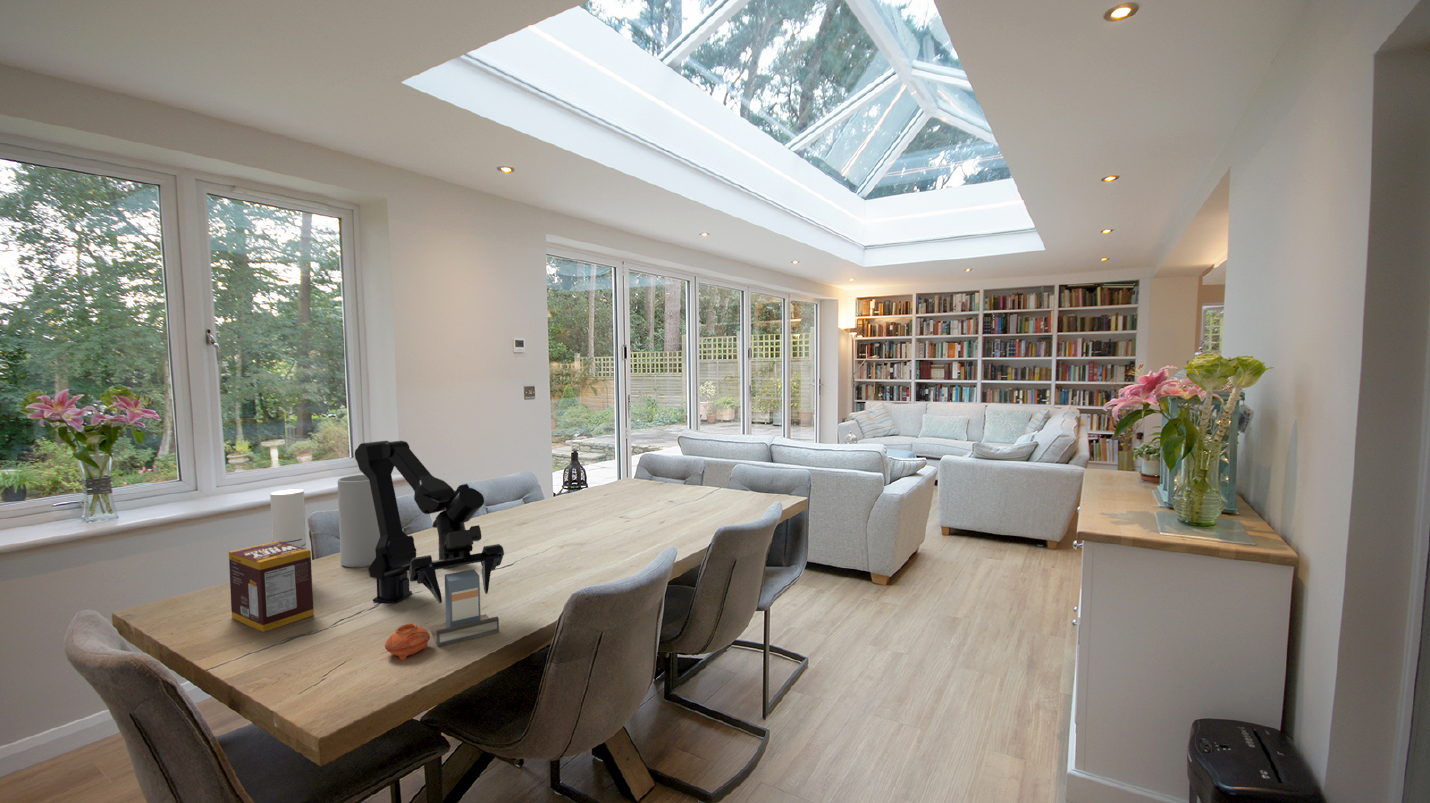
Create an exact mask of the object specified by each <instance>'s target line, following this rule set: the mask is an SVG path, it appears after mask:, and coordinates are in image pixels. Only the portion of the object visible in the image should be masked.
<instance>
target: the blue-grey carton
mask: <svg viewBox="0 0 1430 803" xmlns="http://www.w3.org/2000/svg"><path fill="white" fill-rule="evenodd" d="M480 581H481V580H480V575H479V573H478V572H477V571H476V570H475V568H474V569H466V570H462V571H457V572H451V573H445V574H444V601H445V602H444V603H445V623H446V628H449V627H453V626H458V625H462V624H466V623H471V622H475V621H479V620H481V617H480V615H481V585H480V583H481V582H480Z"/></svg>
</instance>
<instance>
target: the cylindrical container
mask: <svg viewBox="0 0 1430 803" xmlns="http://www.w3.org/2000/svg"><path fill="white" fill-rule="evenodd" d="M305 503H306V502H305V490H304V489H303V488H302V489H301V488H300V489H299V488H297V489H296V488H295V489H293V488H291V489H283V490H276V491H272V492H270V517H271V536H272V537H271V538H272V539H271V540H272V541H271V542H275V541H281V542H284V543H287V544H291V545H294V546H298V547H301V548H305V549H307V534H306V531H307V529H306V508H305V505H306V504H305Z"/></svg>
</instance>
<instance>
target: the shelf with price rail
mask: <svg viewBox="0 0 1430 803" xmlns="http://www.w3.org/2000/svg"><path fill="white" fill-rule="evenodd" d="M480 617H481V620H479V621H475V622H471V623H466V624H462V625H458V626H453V627H449V628H446V622H444V623H440V624H435V625H431V626H428V629H429V632H430V633H431V634H430V635H432V638H433V640H434V643H435V644H436V646H437V648H439V647H443V646H446V645H450V644H456V643H459V642H463V641H467V640H472V639H476V638H481V637H484V636H488V635H492V634H496V633H499V632H500V623H499V620H500V619H499V616H494V617H493V616H492V617H489V616H488V615H487V614H486V613H483V614H480Z"/></svg>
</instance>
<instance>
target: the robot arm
mask: <svg viewBox="0 0 1430 803" xmlns="http://www.w3.org/2000/svg"><path fill="white" fill-rule="evenodd" d="M354 458H355V461H356V463H357V466H358V469H359V471H360V472H361V473H362V475H365V476H366V477H367V478H368V479H369V482H370V487H371V492H372V497H373V502H374V507H375V512H376V517H377V522H378V527H379V532H380V538H379V541H378V543H377V546H376V548H375V552H376V558H375V560H374V561H373V562H372V564H371V565H370V566H368V573H369V577H370V578H374V579H375V580H376V597H374V598H373V599H372V602H373V603H375V602H377V603H378V602H379V603H380V602H381V603H398V602H400V601H402V600H404V599H405V598H407V597H409V596H410V595H412V594H413V591H412V590H410V582H417V584H419V585H420V584H422V585H423V586H424V587H425V588H427V589H428V591H429V592H430V593H431V594H432V595H433V598H435V600H436V601H437V602H438V603H439V604H442V602H443V599H442V593H441V589H440V586H439V582H438V579H437V575H436V574H437V573H436V571H437V570H442V569H447V568H448V569H449V567H450V568H455V567H459V566H465V565H469V564H470V565H471V564H475V563H476V564H477V563H481V564H480V565H481V572H480V573H481V578H482V585H483V590H484V594H485V595H487V594H489V586H490V580H491V572H492V571H495V570H496V568H497V567H499V566H500V565H501V564H502V561H503V558H504V556H505V551H504V547H503V545H501V544H500V543H496V544H491V545H484V546H483V548H482V550H481V552H478V553H471V552H473V545H474V542H479V541H481V539H482V531H481V527H480V525H479V524H478V525H472V526H469V529H466V526H465V523H467V522H469V521H470V520H471V519H472V518H473V517H474V516H475V515H476V513H477V512H478V511H479V510H480V509H481V508H482V507H483V506H484V504H485V498H484V495H483V493H482V492H480V491H479V490H477V489H475V488H473V487H470V486H469V485H468V484H467V483H465V484H460V485H459V486H457V488H456V489H455V490H454V489H453V487H452V486H450V484H449V483H447V482H446V481H445V480H444V479H440V478H438V477H435V476H433V475H432V474H431V472H430V471H429V470H428V469H427V468H426V467H425V465H424V464H423V463H422V461H421V460H420V459H419V458H418V457H417V456H416V454H415V453H414V452H413V451H412V450H411V448H410V445H409V443H408V442H407V441H406V440H405V441H404V440H395V441H389V440H379V441H369V442H362V443H360V444H359V445H358V446H357V448H356V449H355V450H354ZM394 468H395V469H396V470H397V471H398V472H399V474H400V475H401V476H402V477H403V478H404V480H405V481H406V482H407V483H408V484H409V486H410V487H411V488H412V490H413V491H414V497H413V498H414V500H413V501H414V502H415V503H416V505H417V507H418V508H419V510H420V511H421V512H422V513H423V514H425V515H430V514H434V513H438V514H437V516H436V517H435V520H434V521H433V522H432V528H435V529H436V530H437V536H438V543H439V542H440V548H441V554H442V560H439V559H437V560H433V559H432V558H433V557H432V555H431V554H429V555H423V556H417V548H416V546H415V538H414V537H413V535H408V534H407V533H406V532H404V529H403V526H402V522H401V515H400V512H399V507H398V501H397V496H396V490H395V488H394V487H395V486H394V482H393V477H392V472H393V471H394ZM439 512H440V513H439ZM454 566H455V567H454ZM408 573H409V574H408ZM408 575H409V576H408Z"/></svg>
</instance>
